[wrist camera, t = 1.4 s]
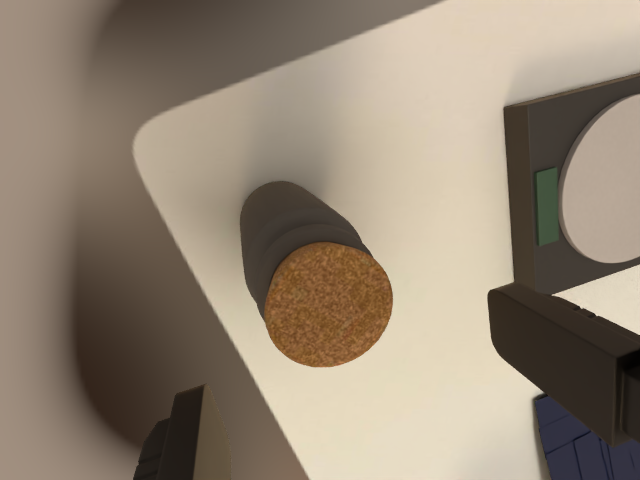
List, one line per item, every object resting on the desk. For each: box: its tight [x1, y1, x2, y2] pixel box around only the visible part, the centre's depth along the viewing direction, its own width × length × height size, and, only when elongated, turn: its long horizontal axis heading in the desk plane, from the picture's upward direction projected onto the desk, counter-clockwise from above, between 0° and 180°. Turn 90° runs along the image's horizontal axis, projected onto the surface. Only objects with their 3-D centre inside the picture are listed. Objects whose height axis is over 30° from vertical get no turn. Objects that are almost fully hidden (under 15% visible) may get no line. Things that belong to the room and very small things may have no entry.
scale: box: [504, 73, 640, 295], centre depth 31 cm, size 16×16×3 cm
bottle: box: [240, 181, 393, 367], centre depth 20 cm, size 6×6×15 cm
